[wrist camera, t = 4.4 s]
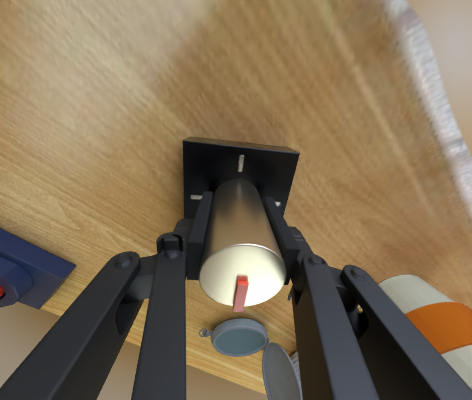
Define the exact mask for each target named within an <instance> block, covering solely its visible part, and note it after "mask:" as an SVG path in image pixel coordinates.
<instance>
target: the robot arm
mask: <svg viewBox="0 0 472 400" xmlns="http://www.w3.org/2000/svg"><path fill="white" fill-rule="evenodd" d="M212 198H213V192H208V191H204V192H203V195H202V198H201V201H200V204H199V207H198V210H197V213H196V216H195V219H184V218H183V219H181V220H180V221H179V222H178V223H177V225H176V227H175V229H174V231H173V232H169V233H165V234H163V235H161V236H160V237H158V239H157V241H156V243H157V253H158V254H156V255H153V256H148V257H142V258H140V257H139V255H138V254H137V253H136V252H132V251H130V252H123V253H119V254H117V255H115V256H114V257H112V258H111V259H110V260H109V261H108V262H107V263H106V265H105V266H104V267H103V268H102V269H101V270H100V272H99V273H98V274H97V275H96V276H95V277H94V279H93V280H92V281H91V282H90V283H89V285H88V286H87V287H86V288H85V289H84V290H83V292H82V293H81V294H80V295H79V296H78V297H77V299H76V300H75V301H74V302H73V303H72V304H71V306H70V307H69V308H68V309H67V310H66V312H65V313H64V314H63V315H62V316H61V317H60V319H59V320H58V321H57V322H56V323H55V324H54V326H53V327H52V328H51V329H50V330H49V331H48V333H47V334H46V335H45V336H44V337H43V338H42V340H41V341H40V342H39V343H38V344H37V346H36V347H35V348H34V349H33V350H32V352H31V353H30V354H29V355H28V356H27V357H26V358H25V360H24V361H23V362H22V363H21V364H20V366H19V367H18V368H17V369H16V370H15V372H14V373H13V374H12V375H11V376H10V377H9V378H8V380H7V381H6V382H5V383H4V384H3V386H2V387H1V388H0V400H96V399H97V397H98V395H99V393H100V391H101V389H102V387H103V385H104V383H105V381H106V379H107V376H108V374H109V372H110V370H111V368H112V366H113V364H114V362H115V360H116V358H117V356H118V353H119V351H120V349H121V347H122V345H123V343H124V341H125V339H126V337H127V335H128V333H129V331H130V328H131V326H132V324H133V322H134V320H135V318H136V316H137V314H138V312H139V310H140V308H141V305H142V303H143V301H144V299H147V298H150V299H149V304H148V310H147V315H146V321H145V326H144V331H143V337H142V342H141V348H140V353H139V359H138V364H137V370H136V375H135V381H134V386H133V392H132V398H131V400H186V299H185V280H186V277H187V280H199V270H200V265H201V260H202V255H203V249H204V244H205V239H206V234H207V229H208V223H209V218H210V213H211V208H212ZM263 207H264V210H265V213H266V215H267V218H268V221H269V223H270V226H271V229H272V231H273V234H274V237H275V239H276V242H277V245H278V247H279V250H280V253H281V255H282V258H283V261H284V263H285V266H286V272H287V273H286V280H285V283H284V285H288V283H289V281H290V278H291V281H292V283H293V285H292V288H291V290H290V293H289V296H288V300H289V301H290V298H291V296H292V306H293V315H294V324H295V333H296V343H297V352H298V361H299V370H300V379H301V389H302V398H303V400H472V389H471V388H470V387H469V386H468V385H467V384H466V383H465V381H464V380H463V379H462V378H461V377H460V376H459V375H458V374H457V372H456V371H455V370H454V369H453V368H452V367H451V366H450V365H449V364H448V362H447V361H446V360H445V359H444V358H443V357H442V356H441V355H440V353H439V352H438V351H437V350H436V349H435V348H434V347H433V346H432V345H431V343H430V342H429V341H428V340H427V339H426V338H425V337H424V336H423V334H422V333H421V332H420V331H419V330H418V329H417V328H416V327H415V326H414V324H413V323H412V322H411V321H410V320H409V319H408V318H407V317H406V315H405V314H404V313H403V312H402V311H401V310H400V309H399V308H398V307H397V305H396V304H395V303H394V302H393V301H392V300H391V299H390V298H389V296H388V295H387V294H386V293H385V292H384V291H383V290H382V289H381V287H380V286H379V285H378V284H377V283H376V282H375V281H374V280H373V279H372V277H371V276H370V275H369V274H368V273H367V272H365V271H364V270H362V269H361V268H359V267H356V266H353V265H346V266H345V267H344V268H343V270H339V269H336V268H333V267H330V266H328V264H327V263H326V261H325V260H324V259H323V258H321V257H319V256H318V255H315V254H314V253H313V252H312V250H311V248H310V247H309V245H308V243H307V242H306V240H305V239H304V237H303V235H302V234H301V232H300V231H299V230H298V229H297V228H295V227H289V226H288V225H287V223H286V221H285V220H284V218H283V216H282V214H281V212H280V210H279V208H278V206H277V204H276V203H275V201H274V199H273V198H272V197H264V201H263ZM358 305H360V307H361V308H362V309H363V311H362V313H361V312H360V311H359V310H358V308H357V306H358Z"/></svg>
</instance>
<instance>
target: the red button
mask: <svg viewBox="0 0 472 400" xmlns="http://www.w3.org/2000/svg"><path fill="white" fill-rule="evenodd" d="M4 293H5V291H4V289H3V287H1V286H0V297H1V296H2V295H3V294H4Z"/></svg>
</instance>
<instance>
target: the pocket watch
mask: <svg viewBox="0 0 472 400" xmlns="http://www.w3.org/2000/svg"><path fill="white" fill-rule="evenodd" d="M202 330H204V331H203V336H202V335H200V332H201V331H202ZM202 330H200V332H199V335H200V336H201V337H208V336H209V335H210V336H211V342H212V344H213V347H214V348H215V349H216V350H217V351H218V352H219V353H221V354H224V355H227V356H233V357H241V356H248V355H251V354H254V353H256V352H258V351H260V350H263V349H264V352H263V358H262V372H263V380H264V385H265V389H266V393H267V397H268V400H303V398H302V390H301V386H300V382H299V378H298V375H297V372H296V370H295V367H294V365H293V363H292V361H291V359H290V357H289V356H288V354H287V353H286V351H285V350H284V349H283V348H282V347H281V346H280V345H278V344H276V343H273V342H271V343H269V341H270V339H269V338H268V335H267V331H266V329H265V328H264V326H263V325H262V324H260V323H259V322H256V321H254V320H251V319H245V318H236V319H231V320H227V321H225V322H223V323H221V324H219V325H218V326H217V327H216V328H215V329H214V330H213V332H210V331H209V330H208V329H202ZM205 330H206V331H205Z"/></svg>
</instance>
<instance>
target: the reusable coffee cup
mask: <svg viewBox="0 0 472 400" xmlns="http://www.w3.org/2000/svg"><path fill="white" fill-rule="evenodd" d="M378 285H379V286H380V287H381V289H382V290H383V291H384V292H385V293H386V294H387V295H388V296H389V298H390V299H391V300H392V301H393V302H394V303H395V304H396V305H397V307H398V308H399V309H400V310H401V311H402V312H403V313H404V314H405V315H406V317H407V318H408V319H409V320H410V321H411V322H412V323H413V324H414V326H415V327H416V328H417V329H418V330H419V331H420V332H421V333H422V334H423V336H424V337H425V338H426V339H427V340H428V341H429V342H430V343H431V345H432V346H433V347H434V348H435V349H436V350H437V351H438V352H439V353H440V355H441V356H442V357H443V358H444V359H445V360H446V361H447V362H448V364H449V365H450V366H451V367H452V368H453V369H454V370H455V371H456V372H457V374H458V375H459V376H460V377H461V378H462V379H463V380H464V381H465V383H466V384H467V385H468V386H469V387H470V388H471V389H472V310H471V309H470V308H468V307H467V306H465V305H464V304H461V303H457V302H454V301H453V300H451V299H450V298H448V297H447V296H445V295H444V294H442V293H441V292H440V291H438V290H437V289H435V288H434V287H432V286H431V285H429V284H428V283H427V282H425V281H424V280H422V279H421V278H419V277H418V276H415V275H409V274H407V275H398V276H394V277H391V278H388V279H386V280H384V281H382V282H380V283H379V284H378Z"/></svg>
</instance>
